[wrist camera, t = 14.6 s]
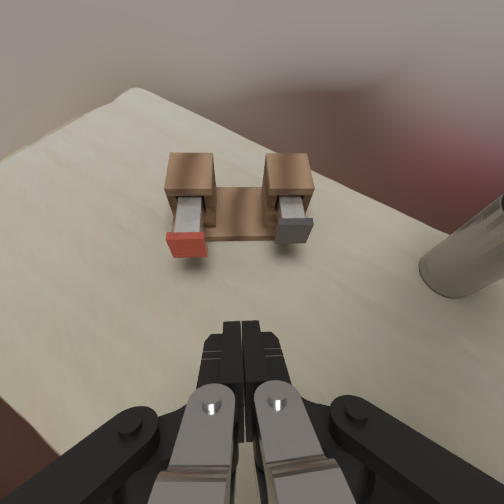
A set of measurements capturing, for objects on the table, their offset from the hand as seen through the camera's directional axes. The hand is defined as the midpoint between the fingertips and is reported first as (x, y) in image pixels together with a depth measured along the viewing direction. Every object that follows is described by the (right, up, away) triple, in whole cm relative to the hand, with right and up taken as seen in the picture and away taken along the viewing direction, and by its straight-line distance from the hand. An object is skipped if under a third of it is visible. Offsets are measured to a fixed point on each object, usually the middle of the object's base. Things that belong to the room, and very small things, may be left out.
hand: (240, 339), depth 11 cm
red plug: (-9, +9, +33) cm, 36 cm away
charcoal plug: (+6, +12, +35) cm, 38 cm away
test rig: (-2, +11, +41) cm, 42 cm away
